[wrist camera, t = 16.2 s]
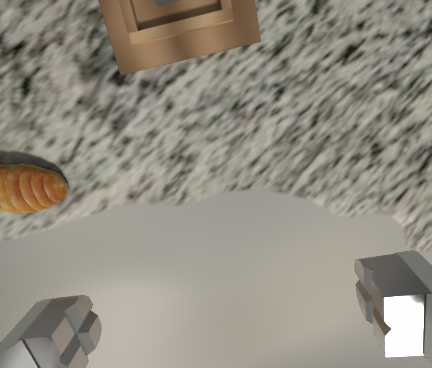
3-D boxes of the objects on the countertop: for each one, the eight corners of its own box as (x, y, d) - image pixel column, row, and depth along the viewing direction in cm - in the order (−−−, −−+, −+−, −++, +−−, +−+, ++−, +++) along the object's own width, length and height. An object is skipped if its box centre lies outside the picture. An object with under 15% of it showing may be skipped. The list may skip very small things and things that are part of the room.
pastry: (64, 158, 37) (47, 166, 33) (76, 206, 39) (61, 218, 36) (-5, 162, 38) (-30, 170, 34) (10, 209, 40) (-12, 222, 36)
